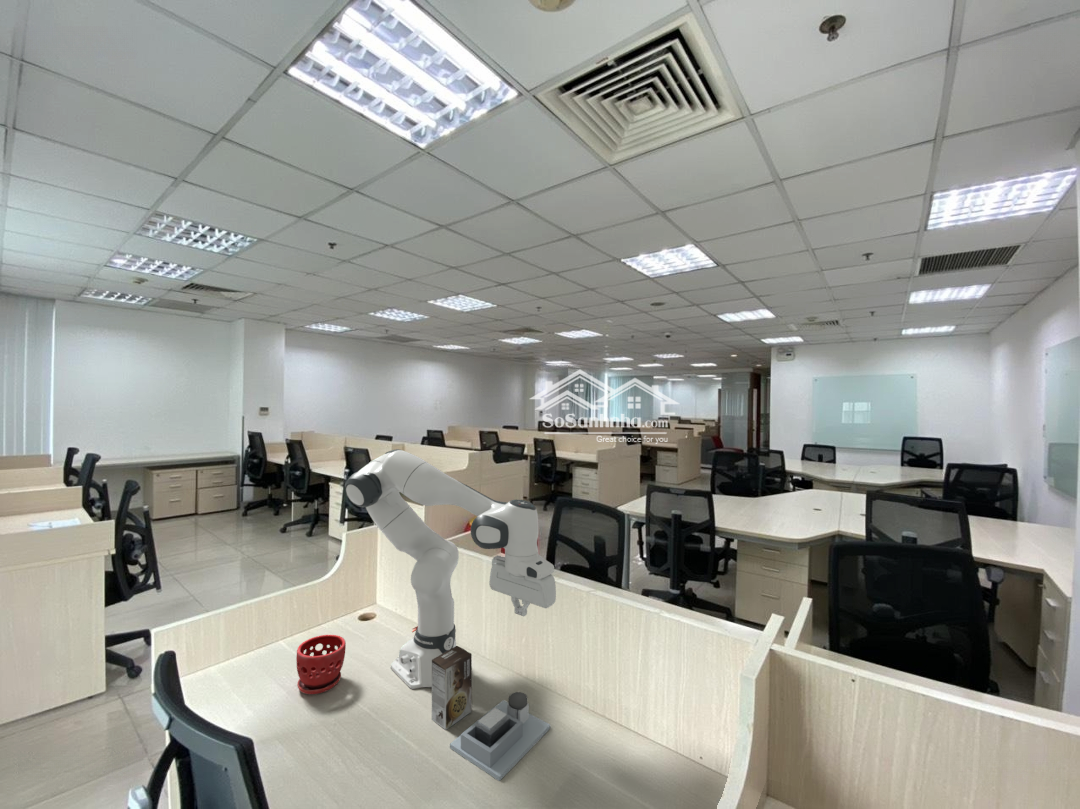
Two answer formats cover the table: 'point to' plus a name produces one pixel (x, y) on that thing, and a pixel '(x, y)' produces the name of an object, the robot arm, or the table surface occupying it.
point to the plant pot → (320, 664)
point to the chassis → (502, 742)
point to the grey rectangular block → (492, 727)
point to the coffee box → (451, 686)
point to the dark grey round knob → (517, 700)
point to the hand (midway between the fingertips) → (520, 614)
